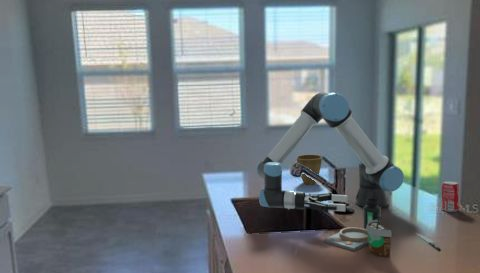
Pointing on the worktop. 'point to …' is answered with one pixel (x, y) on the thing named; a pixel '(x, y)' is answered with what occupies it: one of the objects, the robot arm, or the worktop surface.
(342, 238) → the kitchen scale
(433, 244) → the chef's knife
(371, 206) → the supplement bottle
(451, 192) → the soda can
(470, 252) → the worktop surface
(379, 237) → the food container
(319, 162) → the plant pot
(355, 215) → the worktop surface
